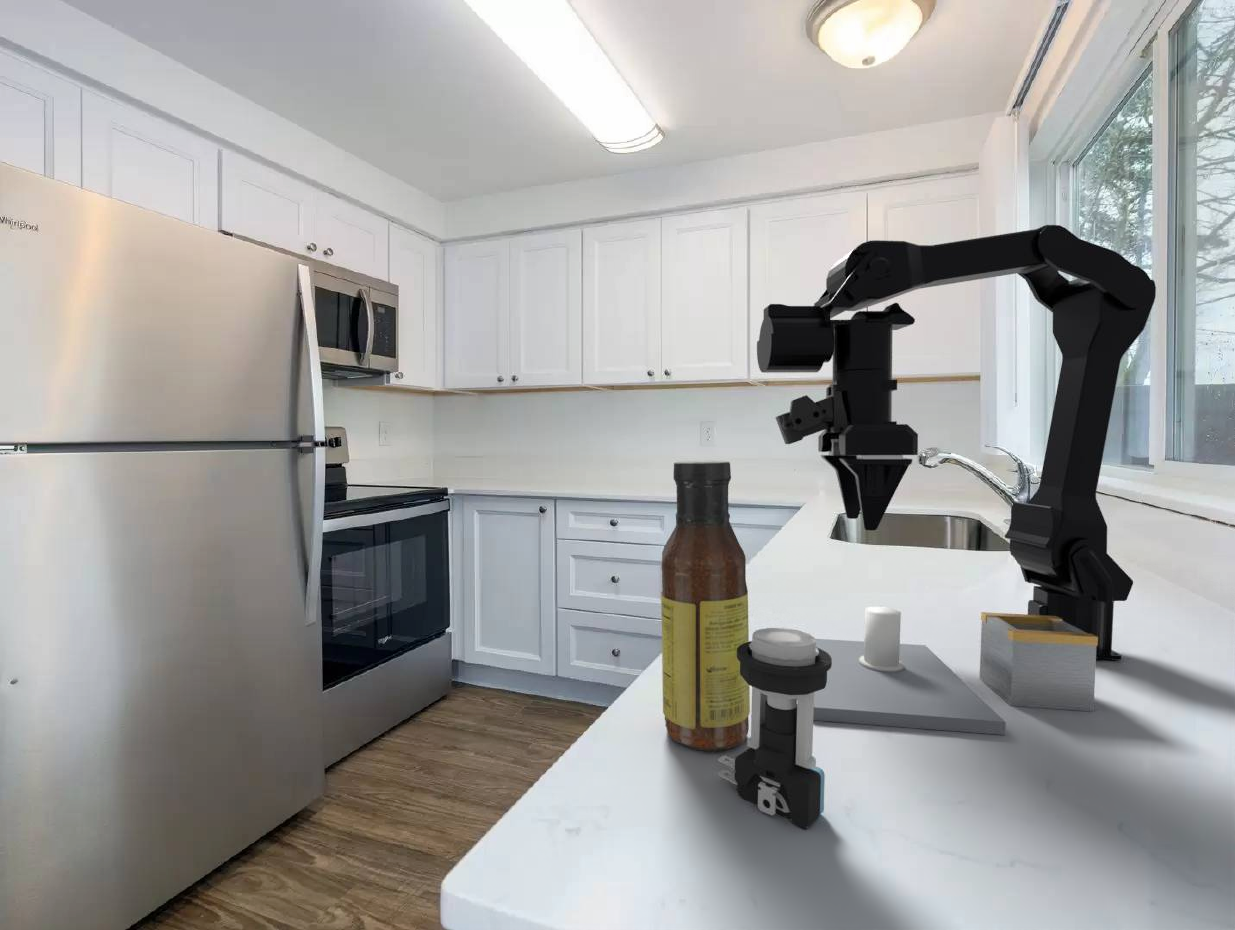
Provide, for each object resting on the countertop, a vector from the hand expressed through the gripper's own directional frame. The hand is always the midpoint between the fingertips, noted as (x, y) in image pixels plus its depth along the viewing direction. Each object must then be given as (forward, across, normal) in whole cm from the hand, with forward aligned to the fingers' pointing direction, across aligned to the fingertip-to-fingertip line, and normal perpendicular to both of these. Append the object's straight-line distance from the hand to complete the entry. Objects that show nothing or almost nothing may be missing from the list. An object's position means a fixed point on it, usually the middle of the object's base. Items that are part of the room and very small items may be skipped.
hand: (860, 523), depth 66 cm
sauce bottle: (+13, +23, -15) cm, 31 cm away
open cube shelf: (+13, +10, +12) cm, 21 cm away
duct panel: (+13, +10, -1) cm, 16 cm away
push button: (+13, +31, -11) cm, 36 cm away
